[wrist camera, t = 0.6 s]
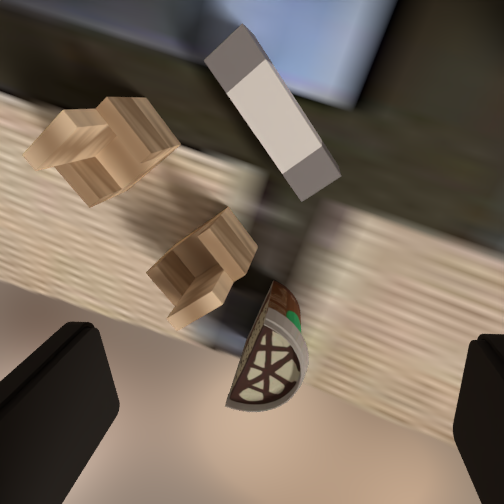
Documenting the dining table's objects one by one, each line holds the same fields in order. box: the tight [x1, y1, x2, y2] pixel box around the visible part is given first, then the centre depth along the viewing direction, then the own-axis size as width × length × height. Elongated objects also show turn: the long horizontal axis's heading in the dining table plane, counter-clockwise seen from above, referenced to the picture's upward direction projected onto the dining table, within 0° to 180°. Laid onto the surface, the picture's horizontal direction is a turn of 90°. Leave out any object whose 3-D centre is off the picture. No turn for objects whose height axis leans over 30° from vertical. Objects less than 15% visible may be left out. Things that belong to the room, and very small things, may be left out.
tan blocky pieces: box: [22, 97, 258, 331], centre depth 33 cm, size 8×19×11 cm, turn 37°
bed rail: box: [204, 23, 341, 202], centre depth 31 cm, size 4×14×5 cm, turn 37°
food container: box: [225, 280, 309, 412], centre depth 37 cm, size 12×6×10 cm, turn 160°
